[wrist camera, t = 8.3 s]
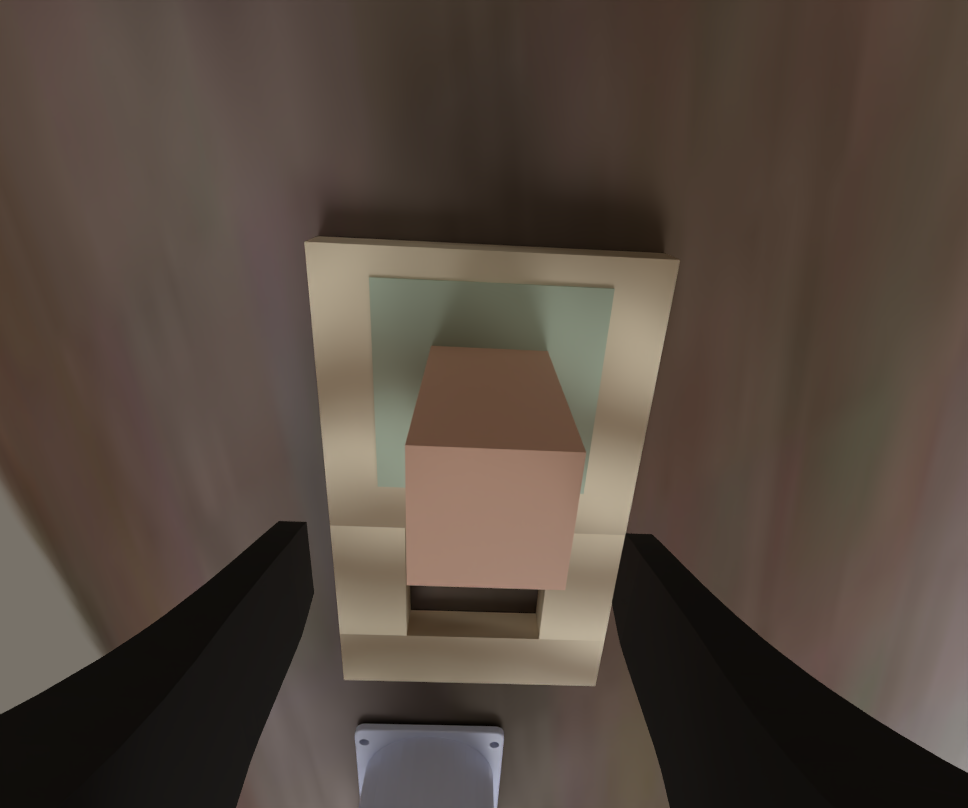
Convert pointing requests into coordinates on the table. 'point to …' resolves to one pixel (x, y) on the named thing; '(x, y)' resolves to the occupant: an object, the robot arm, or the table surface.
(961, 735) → the table surface
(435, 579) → the terracotta block
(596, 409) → the board
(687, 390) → the table surface
